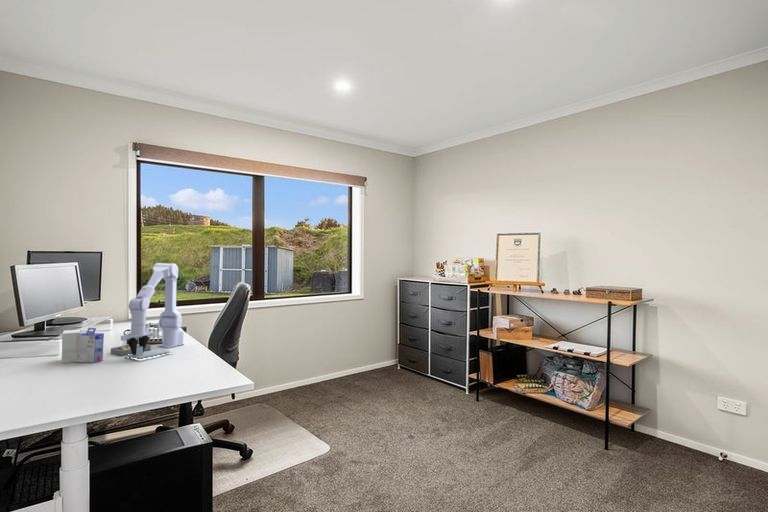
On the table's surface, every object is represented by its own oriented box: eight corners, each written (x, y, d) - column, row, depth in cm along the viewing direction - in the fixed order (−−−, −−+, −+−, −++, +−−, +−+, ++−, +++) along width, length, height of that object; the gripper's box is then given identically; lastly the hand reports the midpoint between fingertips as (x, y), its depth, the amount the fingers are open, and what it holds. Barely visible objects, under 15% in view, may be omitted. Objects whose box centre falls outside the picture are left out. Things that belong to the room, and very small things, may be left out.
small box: (79, 361, 180) (80, 332, 180) (61, 363, 176) (62, 333, 176) (80, 357, 186) (80, 329, 186) (62, 359, 183) (63, 330, 182)
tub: (139, 347, 207) (139, 342, 207) (150, 350, 203) (150, 345, 203) (110, 353, 194) (110, 348, 194) (121, 356, 190) (122, 350, 190)
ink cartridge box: (104, 359, 183) (104, 328, 183) (94, 363, 178) (95, 330, 178) (83, 358, 184) (84, 327, 184) (73, 362, 179) (74, 329, 179)
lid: (156, 350, 201) (157, 340, 201) (169, 352, 197) (169, 343, 197) (126, 356, 188) (127, 346, 188) (139, 359, 184) (140, 348, 184)
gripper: (148, 321, 196) (147, 349, 196) (117, 325, 183) (116, 355, 183) (157, 322, 192) (156, 351, 193) (126, 327, 179) (125, 357, 180)
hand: (137, 353), depth 187 cm, fingers closed on lid, 3 cm apart
